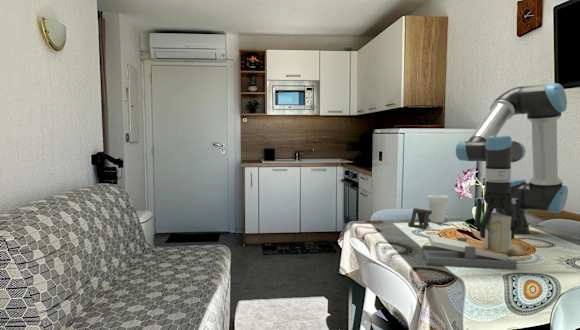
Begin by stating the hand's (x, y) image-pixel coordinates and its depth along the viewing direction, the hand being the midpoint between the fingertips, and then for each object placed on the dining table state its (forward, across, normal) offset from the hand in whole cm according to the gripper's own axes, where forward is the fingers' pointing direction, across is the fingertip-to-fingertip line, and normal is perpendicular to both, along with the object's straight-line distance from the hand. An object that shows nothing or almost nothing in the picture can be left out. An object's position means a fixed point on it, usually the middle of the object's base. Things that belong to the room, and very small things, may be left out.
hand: (496, 247), depth 127 cm
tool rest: (+5, +8, +14) cm, 17 cm away
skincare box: (+1, 0, 0) cm, 1 cm away
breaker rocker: (0, -10, 0) cm, 10 cm away
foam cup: (+5, -9, +62) cm, 63 cm away
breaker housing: (+5, -10, 0) cm, 11 cm away
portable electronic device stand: (+5, -19, +49) cm, 53 cm away
